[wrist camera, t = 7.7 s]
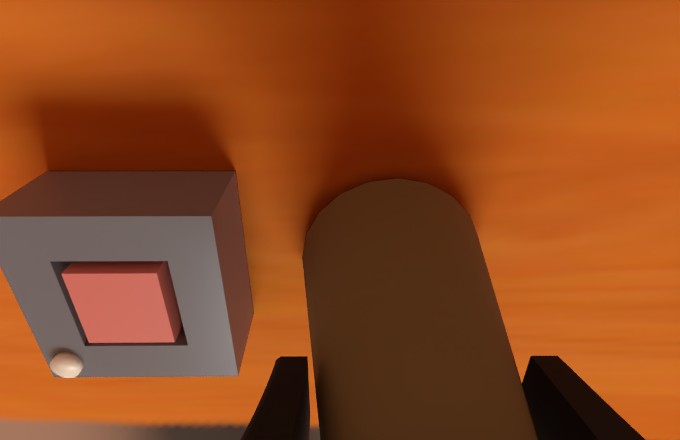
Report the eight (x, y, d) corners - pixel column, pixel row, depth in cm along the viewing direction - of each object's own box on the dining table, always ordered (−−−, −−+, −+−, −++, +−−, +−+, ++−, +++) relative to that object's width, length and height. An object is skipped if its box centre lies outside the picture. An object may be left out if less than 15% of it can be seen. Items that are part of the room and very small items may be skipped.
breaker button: (180, 235, 13) (156, 273, 11) (194, 299, 14) (175, 342, 13) (97, 235, 13) (61, 273, 11) (118, 299, 14) (88, 342, 13)
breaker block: (235, 171, 13) (208, 220, 11) (253, 313, 16) (236, 382, 13) (47, 171, 13) (-31, 221, 10) (99, 314, 16) (49, 383, 13)
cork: (364, 347, 16) (402, 854, 7) (266, 239, 14) (111, 799, 4) (507, 276, 15) (823, 814, 5) (424, 141, 12) (738, 692, 3)
